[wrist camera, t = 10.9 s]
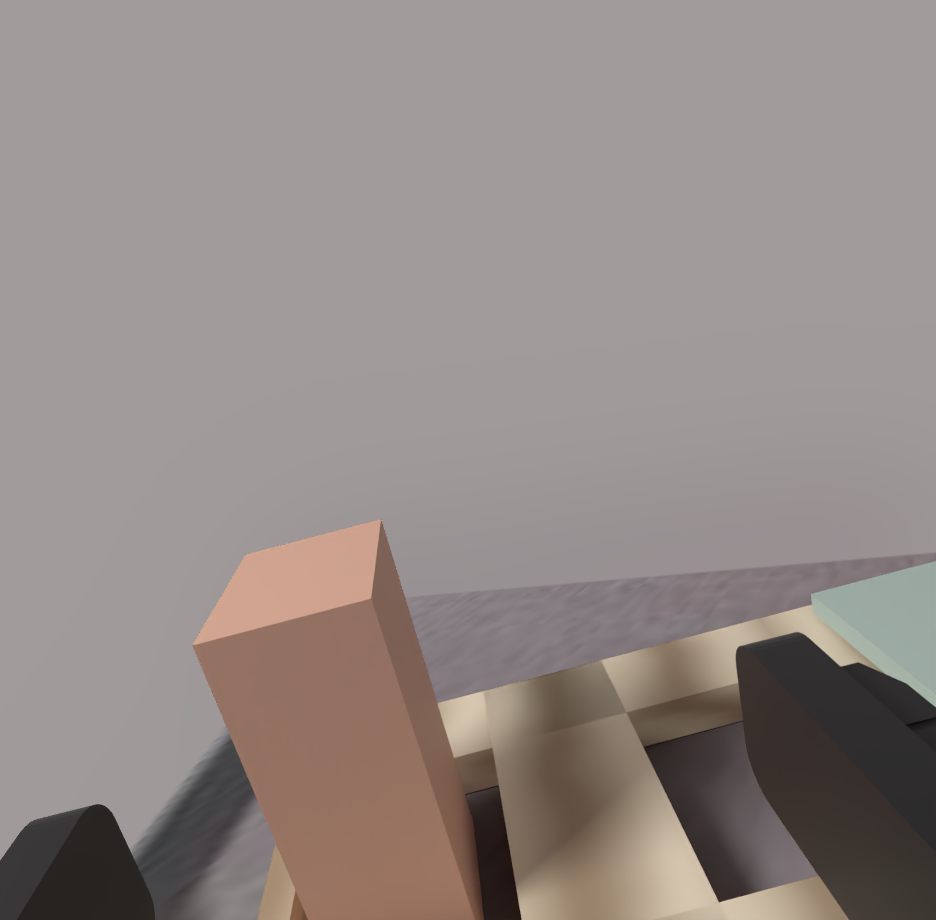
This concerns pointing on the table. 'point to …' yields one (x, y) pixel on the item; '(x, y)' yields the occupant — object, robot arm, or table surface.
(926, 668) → the cover
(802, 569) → the table surface
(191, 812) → the table surface
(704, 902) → the puzzle board
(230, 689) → the block
